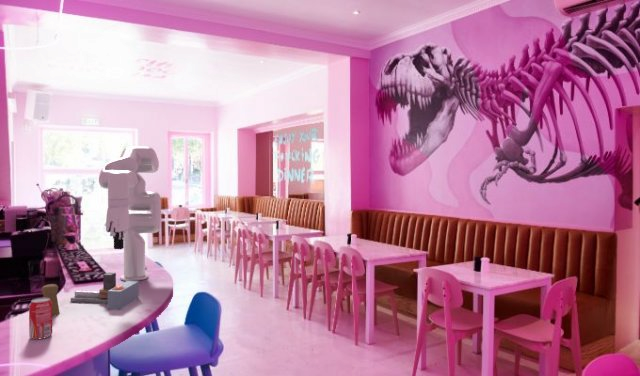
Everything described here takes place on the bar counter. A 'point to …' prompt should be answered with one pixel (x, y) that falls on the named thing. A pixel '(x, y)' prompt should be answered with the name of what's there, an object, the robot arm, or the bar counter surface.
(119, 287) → the button
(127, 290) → the cabinet
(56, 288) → the cork
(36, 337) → the beverage can
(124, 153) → the robot arm
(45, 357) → the bar counter surface
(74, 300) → the rail
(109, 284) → the carriage
